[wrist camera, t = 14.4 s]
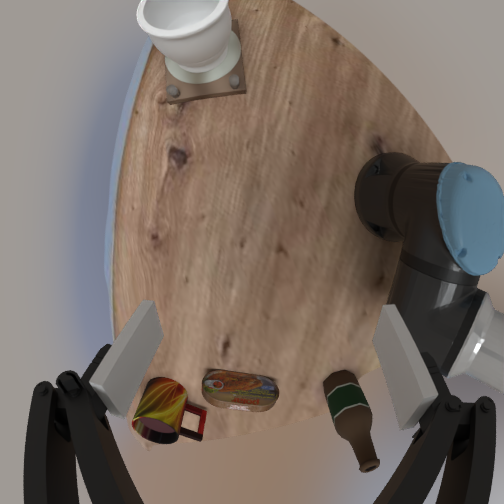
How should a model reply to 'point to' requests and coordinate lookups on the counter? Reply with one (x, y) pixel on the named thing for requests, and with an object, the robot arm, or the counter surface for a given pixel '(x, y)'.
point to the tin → (239, 391)
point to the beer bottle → (351, 416)
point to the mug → (165, 412)
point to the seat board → (208, 76)
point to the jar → (188, 31)
